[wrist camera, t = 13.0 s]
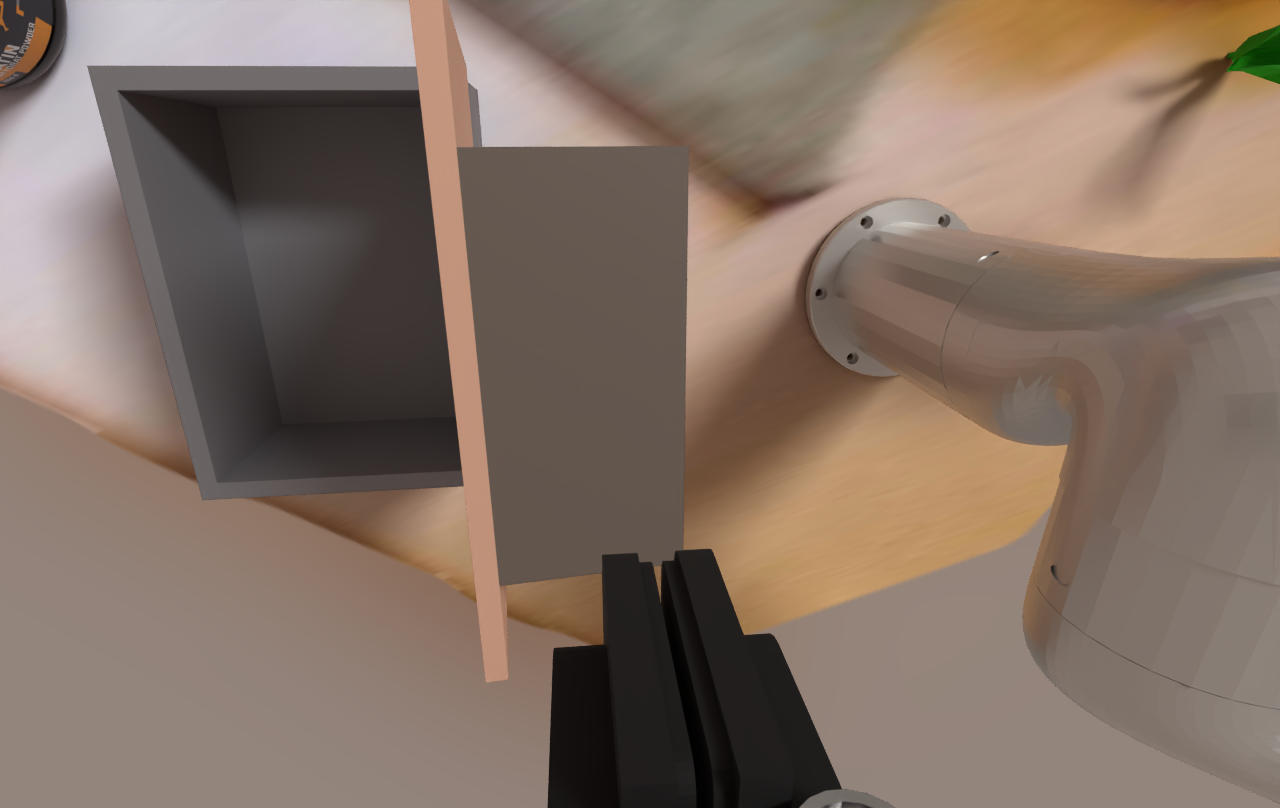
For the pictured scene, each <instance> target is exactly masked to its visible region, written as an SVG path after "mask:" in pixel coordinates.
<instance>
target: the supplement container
mask: <svg viewBox="0 0 1280 808" xmlns="http://www.w3.org/2000/svg"><path fill="white" fill-rule="evenodd" d="M66 27H67V9H66V1H65V0H0V91H8V90H12V89H16V88H19V87H21V86H24V85H27V84H29V83H30V82H32V81H34V80H36V79H37V78H38V77H40V76H41V75H42V74H44V73H45V72H46V71H47V70H48V69H49V68H50V67H51V65H52V64H53V63H54V61H55V60H56V58H57V56H58V55H59V53H60V50H61V48H62V45H63V42H64V38H65V34H66Z"/></svg>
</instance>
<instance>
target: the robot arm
mask: <svg viewBox="0 0 1280 808" xmlns="http://www.w3.org/2000/svg"><path fill="white" fill-rule="evenodd" d="M862 218H863V219H864V224H863V225H861V224H860V222H861V219H862ZM939 218H940V222H939V223H938V220H939ZM818 289H820V293H819V294H818V295H815V293H816V291H817V290H818ZM806 310H807V316H808V320H809V323H810V327H811V330H812V332H813V334H814V335H815V337H816V339H817V341H818V343H819V344H820V345H821V347H822V348H823V349H824V350H825V351H826V353H827V354H828V355H830V356H831V357H832V358H833V359H835V360H836V361H837V362H838V363H840V364H841V365H843V366H844V367H846V368H848V369H850V370H852V371H855V372H858V373H860V374H863V375H870V376H876V377H886V376H897V375H900V376H901V377H903V378H904V379H906V380H908V381H909V382H911V383H912V384H914V385H915V386H917V387H919V388H920V389H922V390H923V391H925V392H926V393H928V394H930V395H931V396H933V397H934V398H936V399H937V400H939V401H941V402H942V403H944V404H945V405H947V406H948V407H950V408H952V409H953V410H955V411H956V412H958V413H959V414H961V415H963V416H964V417H966V418H968V419H969V420H971V421H973V422H974V423H976V424H978V425H979V426H981V427H982V428H984V429H986V430H987V431H989V432H991V433H993V434H995V435H997V436H1000V437H1002V438H1004V439H1008V440H1011V441H1014V442H1018V443H1023V444H1029V445H1042V446H1058V445H1068V447H1067V451H1066V454H1065V458H1064V461H1063V464H1062V468H1061V471H1060V474H1059V478H1060V483H1059V486H1058V489H1057V492H1056V495H1055V499H1054V502H1053V505H1052V508H1051V512H1050V515H1049V518H1048V521H1047V524H1046V528H1045V531H1044V534H1043V538H1042V540H1041V544H1040V547H1039V550H1038V553H1037V557H1036V560H1035V563H1034V566H1033V570H1032V573H1031V576H1030V579H1029V582H1028V586H1027V591H1026V595H1025V600H1024V605H1023V614H1022V618H1023V632H1024V636H1025V641H1026V644H1027V647H1028V649H1029V651H1030V653H1031V655H1032V657H1033V659H1034V661H1035V663H1036V664H1037V665H1038V666H1039V668H1040V669H1041V670H1042V672H1043V673H1044V674H1045V676H1046V677H1047V678H1048V679H1049V680H1050V681H1051V682H1052V683H1053V684H1054V685H1055V686H1056V687H1057V688H1058V689H1059V690H1060V691H1061V692H1062V693H1063V694H1065V695H1066V696H1067V697H1068V698H1070V699H1071V700H1072V701H1073V702H1075V703H1076V704H1077V705H1079V706H1080V707H1081V708H1083V709H1084V710H1086V711H1087V712H1089V713H1090V714H1092V715H1093V716H1095V717H1096V718H1098V719H1100V720H1101V721H1103V722H1104V723H1106V724H1108V725H1110V726H1111V727H1113V728H1115V729H1117V730H1119V731H1121V732H1122V733H1124V734H1126V735H1128V736H1130V737H1132V738H1133V739H1135V740H1137V741H1139V742H1141V743H1143V744H1146V745H1147V746H1149V747H1152V748H1154V749H1156V750H1158V751H1160V752H1162V753H1164V754H1166V755H1168V756H1170V757H1173V758H1175V759H1177V760H1179V761H1182V762H1184V763H1186V764H1189V765H1191V766H1193V767H1195V768H1198V769H1200V770H1202V771H1204V772H1207V773H1209V774H1211V775H1214V776H1216V777H1218V778H1220V779H1223V780H1225V781H1227V782H1230V783H1232V784H1234V785H1237V786H1239V787H1242V788H1244V789H1246V790H1248V791H1251V792H1253V793H1255V794H1258V795H1260V796H1262V797H1265V798H1267V799H1269V800H1272V801H1274V802H1276V803H1279V804H1280V257H1247V258H1194V259H1189V258H1158V257H1143V256H1133V255H1124V254H1115V253H1106V252H1098V251H1092V250H1085V249H1079V248H1072V247H1065V246H1058V245H1052V244H1045V243H1039V242H1033V241H1027V240H1020V239H1014V238H1008V237H1002V236H995V235H989V234H983V233H977V232H970V230H969V228H968V227H967V225H966V224H965V223H964V222H963V221H962V220H961V219H960V218H959V217H958V216H957V215H956V214H955V213H954V212H952V211H950V210H949V209H947V208H945V207H944V206H942V205H940V204H937V203H934V202H931V201H928V200H924V199H916V198H892V199H888V200H883V201H879V202H875V203H873V204H871V205H868V206H866V207H864V208H862V209H860V210H858V211H857V212H855V213H854V214H852V215H851V216H849V217H848V218H846V219H845V220H844V221H843V222H842V223H841V224H840V225H839V226H837V227H836V228H835V229H834V230H833V231H832V232H831V234H830V235H829V236H828V238H827V239H826V240H825V242H824V243H823V244H822V246H821V248H820V249H819V251H818V253H817V255H816V257H815V259H814V261H813V264H812V267H811V270H810V273H809V277H808V281H807V289H806ZM850 353H851V356H850V357H849V358H847V356H848V355H849V354H850ZM602 588H603V633H604V645H591V646H578V647H562V648H554V651H553V671H552V701H551V728H550V757H549V784H548V785H549V786H548V808H895V807H894V806H892V805H891V804H890V803H888V802H886V801H884V800H881V799H879V798H877V797H875V796H873V795H870V794H868V793H864V792H859V791H854V790H848V789H842V788H841V786H840V783H839V781H838V779H837V777H836V774H835V772H834V770H833V767H832V765H831V763H830V760H829V759H828V756H827V754H826V752H825V749H824V747H823V744H822V742H821V740H820V738H819V736H818V733H817V731H816V729H815V726H814V724H813V722H812V720H811V717H810V715H809V712H808V710H807V708H806V706H805V703H804V701H803V699H802V697H801V694H800V692H799V690H798V687H797V685H796V683H795V681H794V678H793V676H792V674H791V671H790V669H789V667H788V664H787V662H786V660H785V658H784V655H783V653H782V651H781V648H780V646H779V644H778V642H777V640H776V639H775V637H774V636H773V635H772V634H754V635H744V634H743V632H742V629H741V626H740V624H739V621H738V618H737V615H736V613H735V610H734V607H733V605H732V602H731V599H730V597H729V594H728V591H727V588H726V586H725V583H724V580H723V578H722V575H721V572H720V570H719V567H718V564H717V562H716V559H715V556H714V553H713V551H712V550H711V549H696V550H678V551H675V554H674V560H671V561H662V569H661V602H660V597H659V592H658V587H657V583H656V578H655V573H654V568H653V564H652V562H639V557H638V553H623V554H605V555H602Z"/></svg>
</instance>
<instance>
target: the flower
mask: <svg viewBox="0 0 1280 808" xmlns="http://www.w3.org/2000/svg"><path fill="white" fill-rule="evenodd" d="M1227 58H1232V61H1233V62H1234V63H1233V64H1232V65H1231V66H1230V67H1229V68H1228V69H1227V71H1226V72H1229V71H1243V72H1246V73H1249V74H1252V75H1255V76H1258V77H1261V78H1264V79H1266V80H1269V81H1272V82H1275V83H1278V84H1280V25H1279V26H1276V27H1274V28H1271V29H1269V30H1266V31H1263V32H1261V33H1258V34H1256V35H1253V36H1251V37H1249V38H1248V39H1247V40H1246V41H1245V42H1244V43H1243V44H1242V45H1241V46H1240V47H1239V48H1238V49H1237V50H1236V51H1235V52H1232V53H1229V54H1228V55H1227ZM1236 59H1237V60H1236Z"/></svg>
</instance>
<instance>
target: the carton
mask: <svg viewBox="0 0 1280 808" xmlns="http://www.w3.org/2000/svg"><path fill="white" fill-rule="evenodd" d="M87 67H88V70H89V74H90V78H91V82H92V85H93V89H94V93H95V97H96V101H97V104H98V108H99V112H100V116H101V119H102V123H103V127H104V131H105V135H106V138H107V142H108V146H109V150H110V153H111V157H112V161H113V165H114V168H115V172H116V176H117V180H118V184H119V187H120V191H121V195H122V199H123V202H124V206H125V210H126V214H127V218H128V221H129V225H130V229H131V233H132V236H133V240H134V244H135V248H136V251H137V255H138V259H139V263H140V267H141V270H142V274H143V278H144V282H145V285H146V289H147V293H148V297H149V300H150V304H151V308H152V312H153V316H154V319H155V323H156V327H157V331H158V334H159V338H160V342H161V346H162V350H163V353H164V357H165V361H166V365H167V368H168V372H169V376H170V380H171V383H172V387H173V391H174V395H175V399H176V402H177V406H178V410H179V414H180V417H181V421H182V425H183V429H184V433H185V436H186V440H187V444H188V448H189V451H190V455H191V459H192V463H193V466H194V470H195V474H196V478H197V482H198V485H199V489H200V492H201V497H202V500H211V499H212V500H213V499H231V498H250V497H269V496H288V495H307V494H326V493H344V492H363V491H382V490H401V489H420V488H439V487H457V486H464V483H463V475H462V466H461V457H460V448H459V439H458V430H457V421H456V412H455V404H454V395H453V386H452V377H451V368H450V359H449V350H448V341H447V333H446V324H445V315H444V306H443V297H442V288H441V279H440V270H439V261H438V253H437V244H436V235H435V226H434V217H433V208H432V199H431V190H430V182H429V173H428V164H427V155H426V146H425V137H424V128H423V119H422V111H421V102H420V93H419V84H418V75H417V67H338V66H87ZM468 92H469V103H470V114H471V125H472V136H473V147H482V139H481V127H480V115H479V104H478V92H477V89H475V88H474V87H473V86H472V85H471V84H469V83H468Z"/></svg>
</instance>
